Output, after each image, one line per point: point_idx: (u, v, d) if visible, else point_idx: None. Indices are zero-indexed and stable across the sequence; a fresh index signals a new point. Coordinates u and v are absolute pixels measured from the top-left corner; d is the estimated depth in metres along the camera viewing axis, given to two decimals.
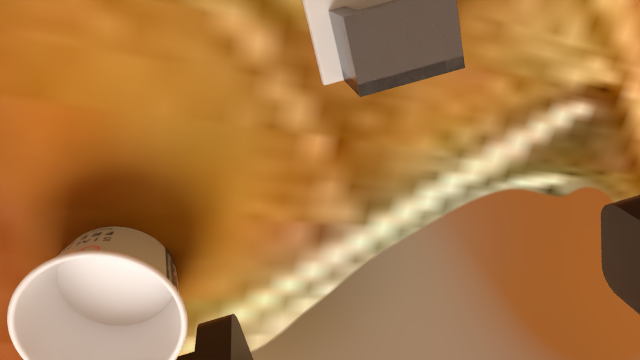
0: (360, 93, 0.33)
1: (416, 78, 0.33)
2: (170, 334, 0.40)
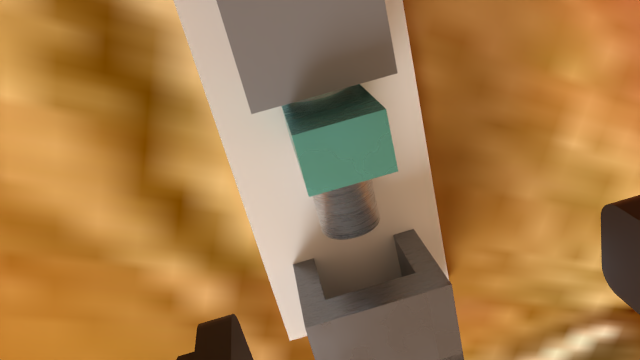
0: None
1: None
2: None
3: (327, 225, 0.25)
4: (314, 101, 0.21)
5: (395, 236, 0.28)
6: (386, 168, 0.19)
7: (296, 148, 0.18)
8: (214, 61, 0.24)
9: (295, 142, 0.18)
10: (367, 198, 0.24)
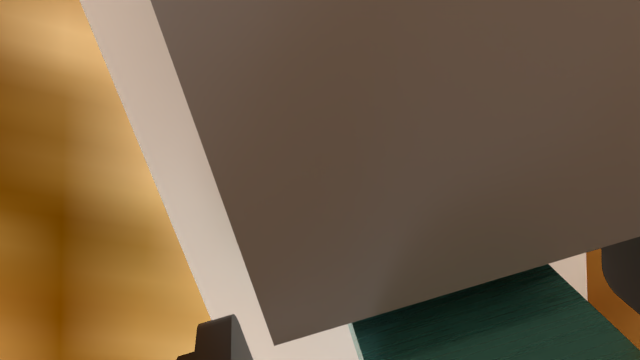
0: None
1: None
2: None
3: None
4: None
5: None
6: None
7: None
8: (189, 164, 0.11)
9: None
10: None
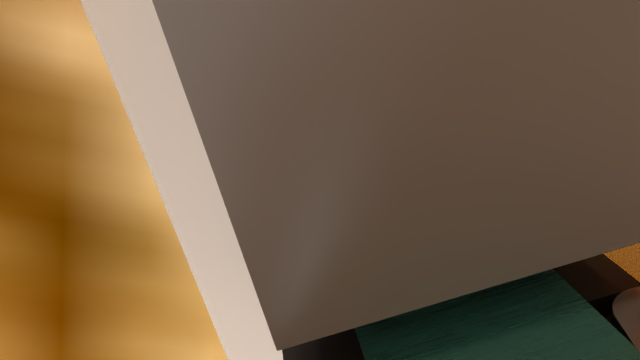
0: None
1: None
2: None
3: None
4: None
5: None
6: None
7: None
8: (191, 168, 0.11)
9: None
10: None
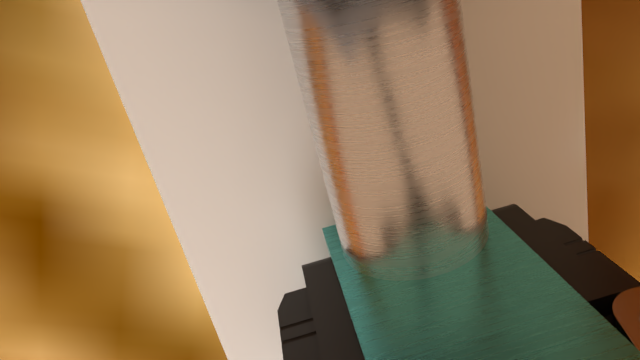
0: None
1: None
2: None
3: None
4: (421, 285, 0.09)
5: None
6: None
7: None
8: None
9: None
10: None
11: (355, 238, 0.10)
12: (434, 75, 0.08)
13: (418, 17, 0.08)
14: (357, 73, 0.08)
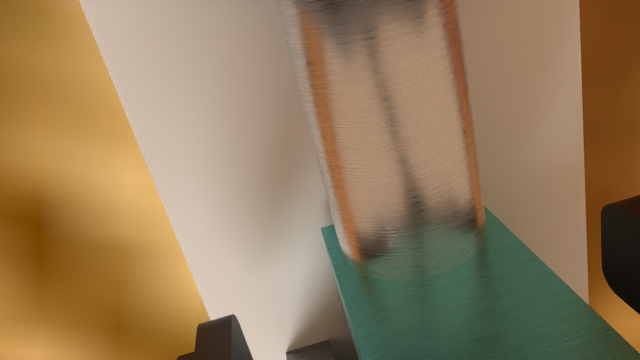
0: None
1: None
2: None
3: None
4: (419, 285, 0.09)
5: None
6: None
7: None
8: None
9: None
10: None
11: (353, 238, 0.10)
12: (431, 75, 0.08)
13: (415, 17, 0.08)
14: (354, 73, 0.08)
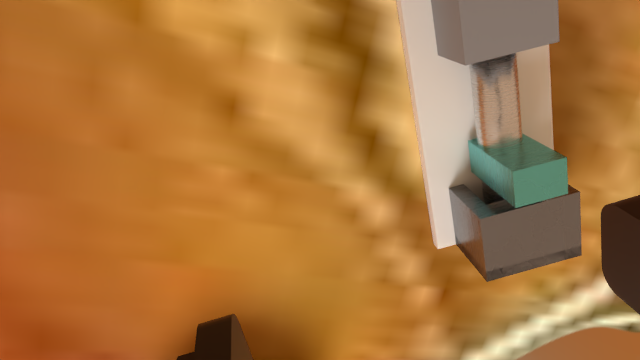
0: (487, 278, 0.36)
1: (538, 265, 0.36)
2: None
3: None
4: (505, 148, 0.35)
5: None
6: (561, 191, 0.32)
7: (513, 179, 0.31)
8: (418, 35, 0.34)
9: (513, 175, 0.31)
10: None
11: (486, 137, 0.35)
12: (512, 93, 0.33)
13: (509, 80, 0.33)
14: (494, 92, 0.33)
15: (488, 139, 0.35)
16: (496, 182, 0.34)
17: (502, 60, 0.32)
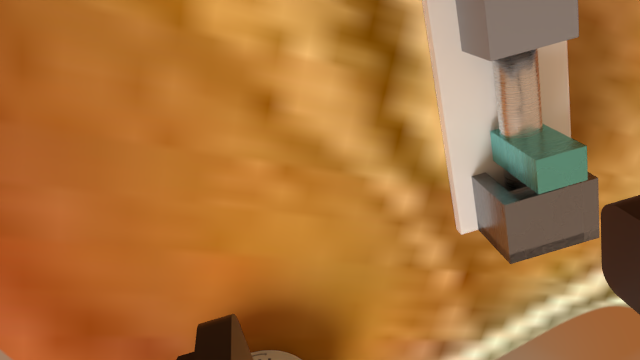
0: (510, 261, 0.38)
1: (558, 247, 0.38)
2: None
3: None
4: (527, 138, 0.37)
5: None
6: (581, 178, 0.34)
7: (536, 167, 0.34)
8: (443, 32, 0.36)
9: (537, 164, 0.33)
10: None
11: (509, 127, 0.37)
12: (533, 86, 0.35)
13: (531, 73, 0.35)
14: (516, 85, 0.35)
15: (510, 130, 0.37)
16: (519, 170, 0.36)
17: (524, 55, 0.34)
